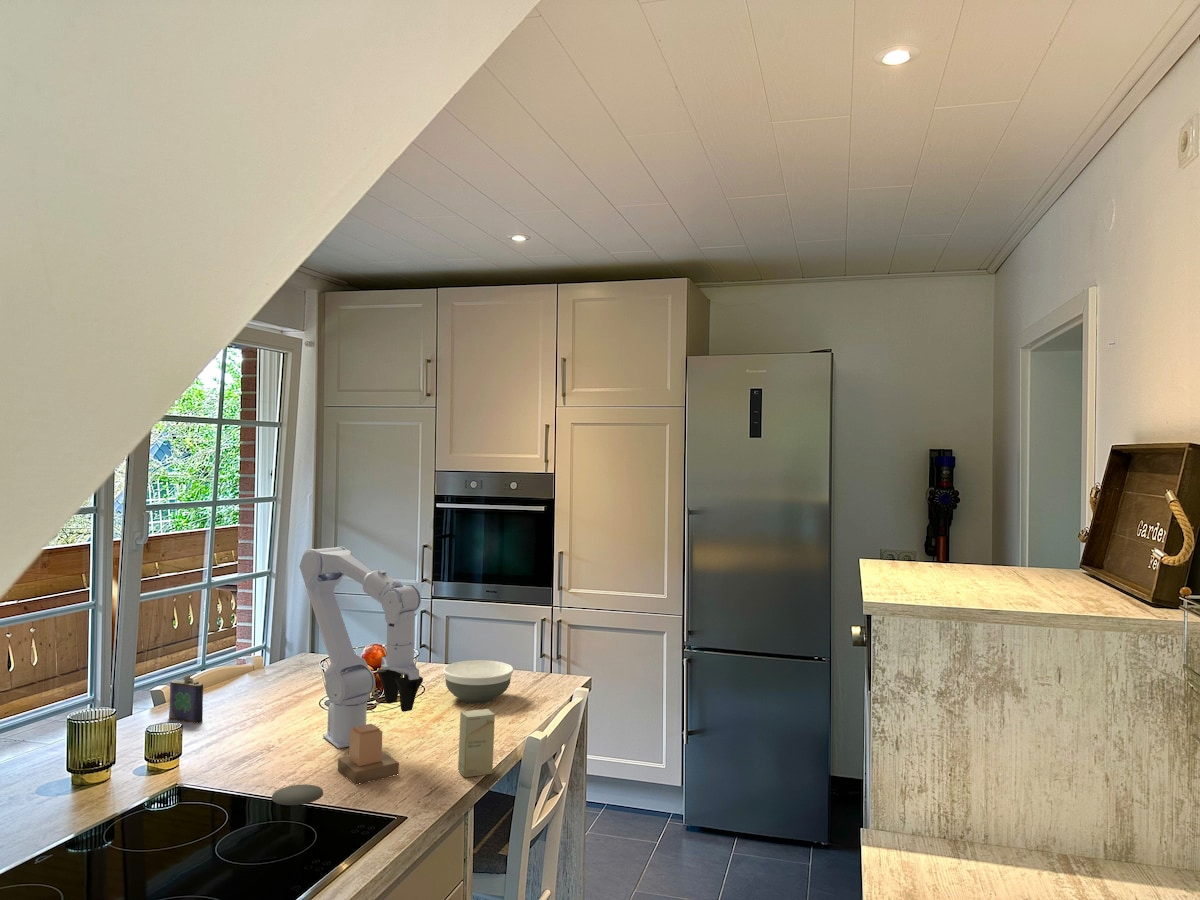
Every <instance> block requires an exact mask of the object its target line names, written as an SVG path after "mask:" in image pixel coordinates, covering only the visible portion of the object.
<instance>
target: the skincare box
mask: <svg viewBox="0 0 1200 900" xmlns="http://www.w3.org/2000/svg"><path fill="white" fill-rule="evenodd" d="M459 717H460V719H459V741H458V761H457V762H458V763H457V764H458V765H457V766H458V767H457V771H458V770H459V771H458V772H459V773H460V774H461V776H463V778H468V777H469V778H471V777H478V776H486V775H492V774H493V772H494V771H493V769H494V768H493V767H494V743H495V741H494V740H495V717H496V714H495V713H494V712H493V711H492V710H490V709H489V708H482V709H473V710H465V711H464V710H463V711H460V715H459Z"/></svg>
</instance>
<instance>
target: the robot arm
mask: <svg viewBox="0 0 1200 900" xmlns="http://www.w3.org/2000/svg"><path fill="white" fill-rule="evenodd" d="M299 569H300V573H301V575H302V579H303V582H304V584H305V587H306V591H307V594H308V598H309V600H310V604H311V608H312V610H313V613H314V616H315V619H316V623H317V625H318V628H319V631H320V634H321V637H322V640H323V643H324V646H325V649H326V652H327V656H328V658H329V661H330V664H329V666H327V667H326V670H325V672H324V673H323V677H324V678H323V679H324V681H325V694H326V696H327V698H328V700H329V701H330V703H329V706H328V708H327V731H326V733H324V734H323V735H322V737H323V738H324V739H325V740H327V741H328V742H330V743H331V744H332V745H334V747H336V748H337V749H341V748H342V749H343V748H347V747H349V746H350V729H353V727H357V726H362V725H367V713H368V712H367V711H368V710H367V709H368V707H367V706H368V705H367V704H368V700H369V699H370V695H371V694H372V693H373V692H374V689H375V687H376V677H375V674H374V673H373V671H372V670H371V669H370V667H369V665H368V664H367V663H368V662H367V660H366V659H364V658H363V657H362V656H359V655H358V654H356V653H355V651H354V647H353V645H352V643H351V642H352V641H351V640H350V639H351V638H350V636H349V633H348V630H347V627H346V624H345V622H344V618H343V616H342V612H341V610H340V607H339V604H338V600H337V598H336V596H335V595H336V594H335V592H334V591H335V588H336V587H337V586H338V585H339V584H340V583H341V581H342V579H343V578H344V577H345V576H346V577H348V578H349V579H351V580H354V581H355V582H356V583H359V584H361V585H362V590H363V592H364V593H365V594H366V595H368V596H370V597H371V598H372V599H374V600H375V601H376V602H378V603H380V605H381V607H382V610H383V612H384V620H385V623H386V655H385V656H384V657H381V665H380V669H378V670H376V673H377V675H378V677H379V680H380V682H381V685H382V689H383V693H384V698H385V703H387V704H392V703H397V701H398V696H399V704H400V710H401V712H403V713H404V712H405V713H406V712H410V711H412V710H413V707H414V703H415V700H416V697H417V693H418V690H419V688H420V686H421V685H422V684H423V681H424V677H422V676H420V669H419V668H417V666H416V663H415V662H414V659H415V657H414V656H415V655H414V654H415V648H414V647H415V617H416V616H415V614H416V613H415V612H416V611H417V610H418V609H419V608H420V606H421V604H422V603H421V602H422V596H421V593H420V591H419V590H418V588H417V587H416V586H415V585H413V584H406V585H405V584H402V583H401V581H400V580H399V579H398V580H397V579H394V578H392V577H391V576H389V575H388V574H387V573H388V572H387V571H385V570H384V569H381V570H378V569H377V570H376V569H375V570H373V571H372V570H371V569H370V568H368V567H367V566H366V565H365V564H363V563H362V562H360V560H358V559H356V557H354V556H353V553H352V551H351V550H349V549H347V548H346V547H345V546H336V547H325V548H324V547H323V548H317V549H315V548H309V549H307V550H305V551H304V552H303V554H302V557H301V560H300V563H299ZM402 676H403V677H402Z"/></svg>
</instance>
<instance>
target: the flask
mask: <svg viewBox="0 0 1200 900" xmlns="http://www.w3.org/2000/svg"><path fill="white" fill-rule="evenodd" d="M192 676H193V674H187V675H183V676H182V677H183V680H181V679H180V680H179V679H176V680H175V679H173V680H172V681H170V682H169V683H170V684H169V687H170V688H169V690H170V691H169V707H168V708H169V713H168V718H169V720H171V721H178V722H181V723H182V722H185V723H190V724H202V722H203V714H204V710H203V708H204V706H203V705H204V703H203V701H204V699H203V698H204V697H203V696H204V684H203V683H201V682H199V681H198V680H195V681H194V678H192Z"/></svg>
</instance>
